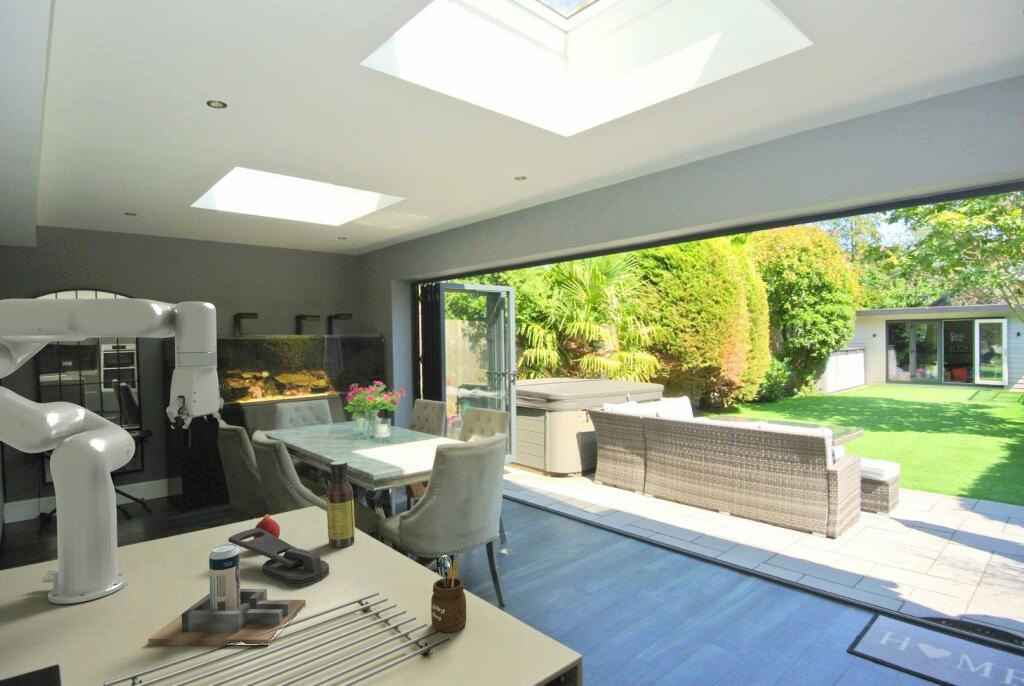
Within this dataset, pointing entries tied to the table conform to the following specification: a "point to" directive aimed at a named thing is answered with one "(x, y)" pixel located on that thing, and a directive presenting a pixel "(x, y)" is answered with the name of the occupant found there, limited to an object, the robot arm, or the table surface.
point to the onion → (268, 526)
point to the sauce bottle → (340, 507)
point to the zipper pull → (283, 559)
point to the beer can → (224, 578)
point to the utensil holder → (448, 602)
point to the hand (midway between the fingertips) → (197, 444)
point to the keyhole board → (229, 621)
